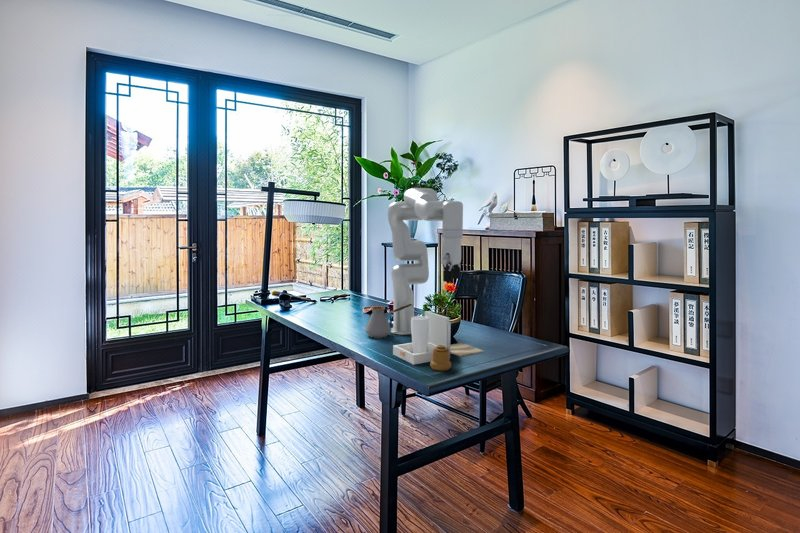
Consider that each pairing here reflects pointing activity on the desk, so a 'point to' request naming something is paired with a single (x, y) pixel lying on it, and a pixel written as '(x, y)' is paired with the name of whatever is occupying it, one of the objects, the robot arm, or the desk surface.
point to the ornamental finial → (440, 358)
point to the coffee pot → (380, 322)
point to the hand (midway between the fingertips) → (451, 280)
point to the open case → (436, 336)
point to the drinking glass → (419, 333)
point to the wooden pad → (464, 349)
